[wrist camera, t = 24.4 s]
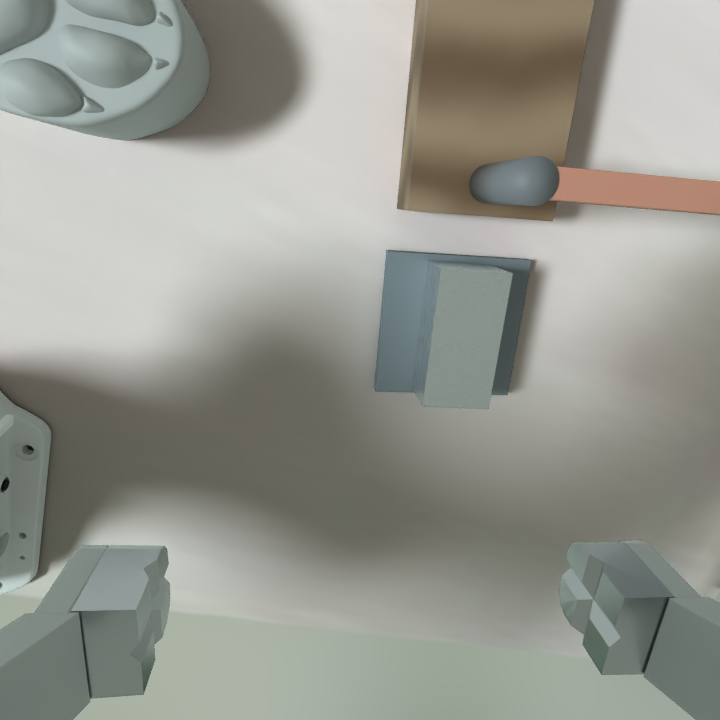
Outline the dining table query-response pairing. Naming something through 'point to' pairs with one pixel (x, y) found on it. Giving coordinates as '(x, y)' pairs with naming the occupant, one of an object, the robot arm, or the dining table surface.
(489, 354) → the grey-blue rectangular block
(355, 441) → the dining table surface
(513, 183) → the cam lever
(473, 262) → the pad
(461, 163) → the body
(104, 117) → the paw pad
